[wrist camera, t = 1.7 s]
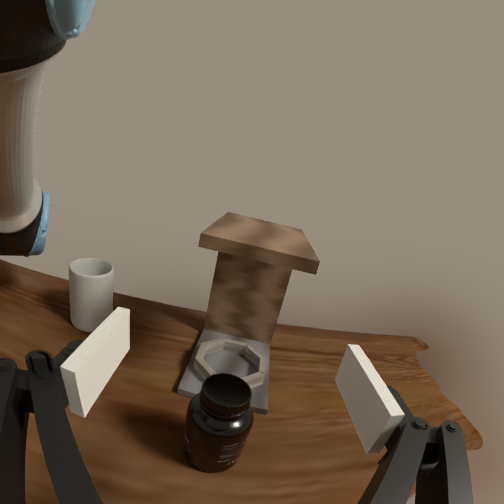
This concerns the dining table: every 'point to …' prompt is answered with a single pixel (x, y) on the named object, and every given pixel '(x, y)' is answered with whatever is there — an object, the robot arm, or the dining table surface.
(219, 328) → the awning stand
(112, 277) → the mug
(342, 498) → the dining table surface
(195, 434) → the supplement bottle
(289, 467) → the dining table surface
